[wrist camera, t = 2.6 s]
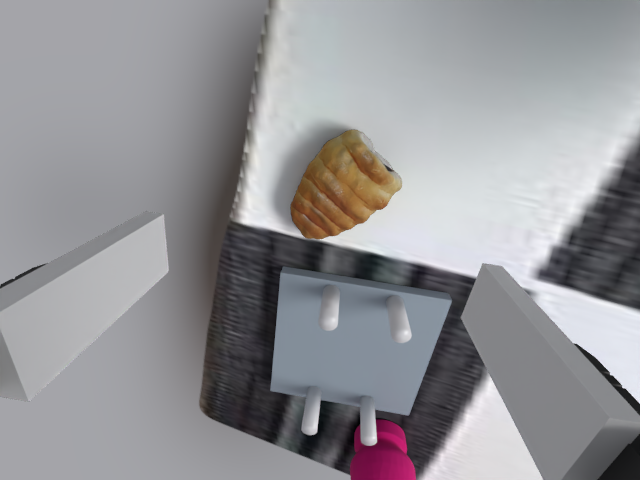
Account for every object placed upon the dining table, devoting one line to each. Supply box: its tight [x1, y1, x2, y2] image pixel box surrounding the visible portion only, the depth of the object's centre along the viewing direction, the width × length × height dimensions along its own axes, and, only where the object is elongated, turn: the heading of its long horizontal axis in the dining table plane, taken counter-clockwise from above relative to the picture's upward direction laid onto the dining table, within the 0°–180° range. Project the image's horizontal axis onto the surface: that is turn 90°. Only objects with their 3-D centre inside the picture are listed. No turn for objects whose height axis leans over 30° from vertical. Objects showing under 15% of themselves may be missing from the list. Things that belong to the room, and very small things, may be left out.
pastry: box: [291, 130, 402, 239], centre depth 25 cm, size 9×7×4 cm
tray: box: [271, 266, 452, 446], centre depth 30 cm, size 16×16×6 cm
